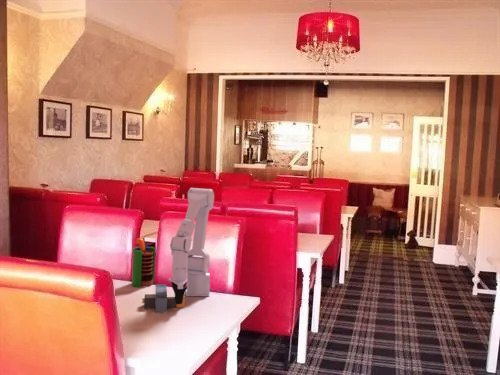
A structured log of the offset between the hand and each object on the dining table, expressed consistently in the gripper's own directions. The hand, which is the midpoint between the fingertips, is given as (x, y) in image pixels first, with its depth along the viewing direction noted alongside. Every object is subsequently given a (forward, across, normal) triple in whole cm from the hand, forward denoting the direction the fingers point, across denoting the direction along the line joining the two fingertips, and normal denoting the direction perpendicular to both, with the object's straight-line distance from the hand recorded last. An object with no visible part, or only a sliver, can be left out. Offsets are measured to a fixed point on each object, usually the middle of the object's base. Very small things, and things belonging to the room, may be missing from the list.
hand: (178, 302), depth 184 cm
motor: (+2, -30, -14) cm, 33 cm away
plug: (+1, 0, -6) cm, 6 cm away
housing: (+1, 0, -7) cm, 7 cm away
